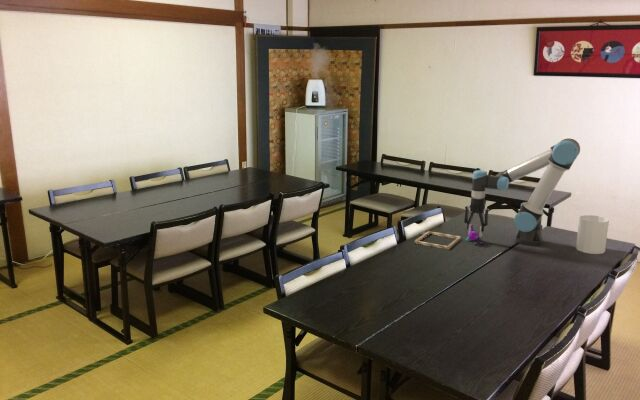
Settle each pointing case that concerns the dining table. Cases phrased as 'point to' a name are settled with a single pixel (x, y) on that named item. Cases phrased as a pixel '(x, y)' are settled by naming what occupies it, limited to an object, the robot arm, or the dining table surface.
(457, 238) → the pocket frame
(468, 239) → the toy
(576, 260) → the dining table surface
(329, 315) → the dining table surface
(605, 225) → the container
